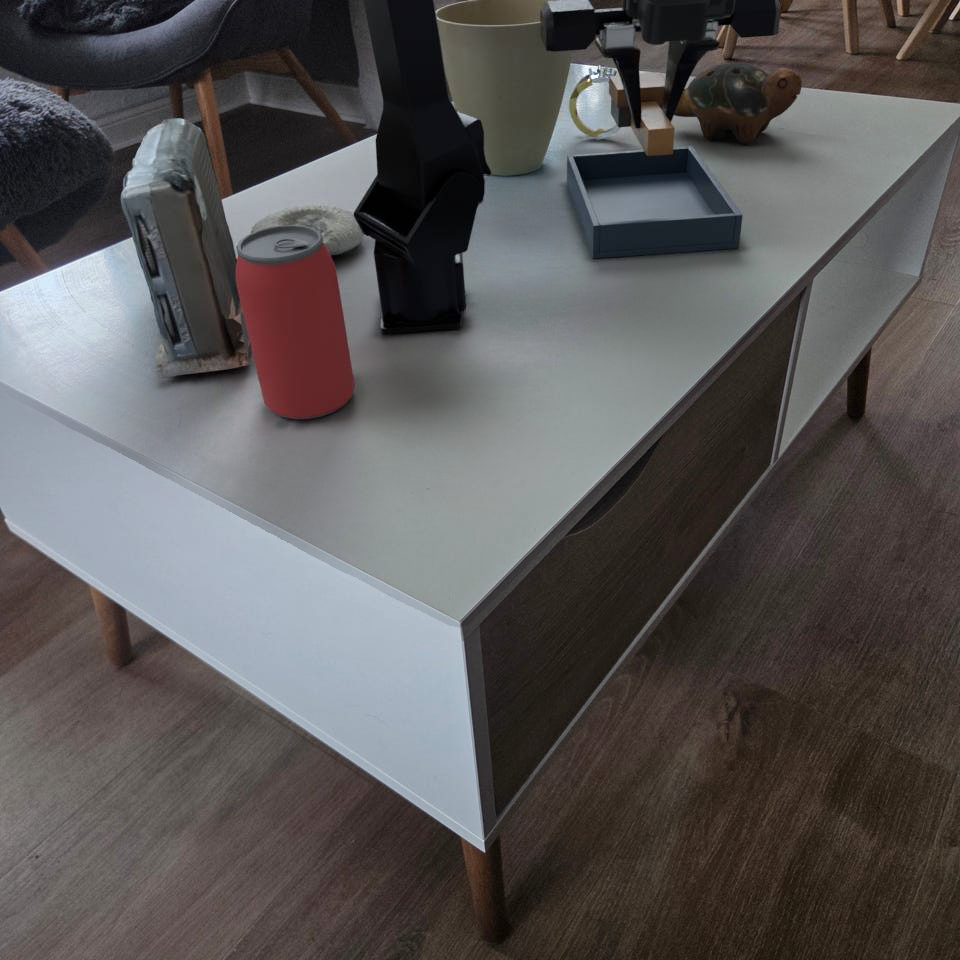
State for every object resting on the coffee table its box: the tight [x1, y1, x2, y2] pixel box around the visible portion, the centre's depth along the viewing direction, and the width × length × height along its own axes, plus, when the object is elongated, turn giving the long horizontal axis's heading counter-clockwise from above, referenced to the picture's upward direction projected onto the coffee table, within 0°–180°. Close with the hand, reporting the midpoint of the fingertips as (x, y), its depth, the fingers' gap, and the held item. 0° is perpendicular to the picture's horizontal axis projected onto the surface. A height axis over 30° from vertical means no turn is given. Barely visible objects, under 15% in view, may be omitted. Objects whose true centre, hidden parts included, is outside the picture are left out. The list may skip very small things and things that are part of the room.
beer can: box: [235, 225, 356, 420], centre depth 63 cm, size 7×7×12 cm
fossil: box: [249, 204, 365, 256], centre depth 87 cm, size 11×4×10 cm
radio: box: [120, 117, 252, 379], centre depth 74 cm, size 23×9×15 cm, turn 5°
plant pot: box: [435, 0, 574, 177], centre depth 100 cm, size 15×15×16 cm
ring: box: [568, 64, 623, 141], centre depth 108 cm, size 7×3×8 cm, turn 69°
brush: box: [608, 72, 675, 156], centre depth 82 cm, size 13×5×3 cm, turn 3°
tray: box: [566, 145, 744, 260], centre depth 90 cm, size 13×19×3 cm
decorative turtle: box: [674, 62, 803, 146], centre depth 106 cm, size 10×15×8 cm, turn 62°
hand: (651, 126), depth 81 cm, fingers closed on brush, 2 cm apart
